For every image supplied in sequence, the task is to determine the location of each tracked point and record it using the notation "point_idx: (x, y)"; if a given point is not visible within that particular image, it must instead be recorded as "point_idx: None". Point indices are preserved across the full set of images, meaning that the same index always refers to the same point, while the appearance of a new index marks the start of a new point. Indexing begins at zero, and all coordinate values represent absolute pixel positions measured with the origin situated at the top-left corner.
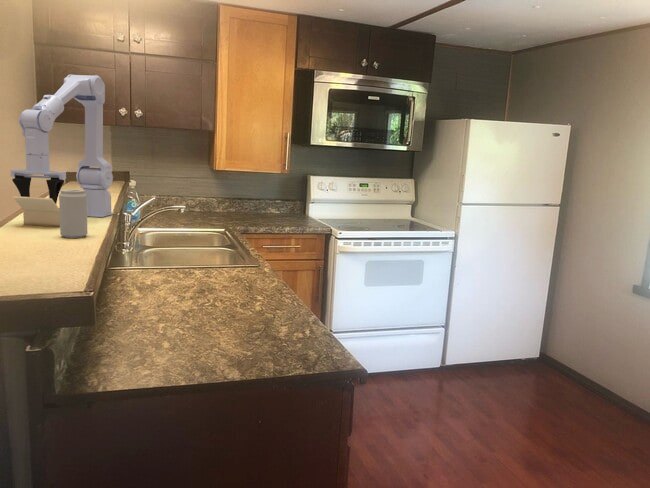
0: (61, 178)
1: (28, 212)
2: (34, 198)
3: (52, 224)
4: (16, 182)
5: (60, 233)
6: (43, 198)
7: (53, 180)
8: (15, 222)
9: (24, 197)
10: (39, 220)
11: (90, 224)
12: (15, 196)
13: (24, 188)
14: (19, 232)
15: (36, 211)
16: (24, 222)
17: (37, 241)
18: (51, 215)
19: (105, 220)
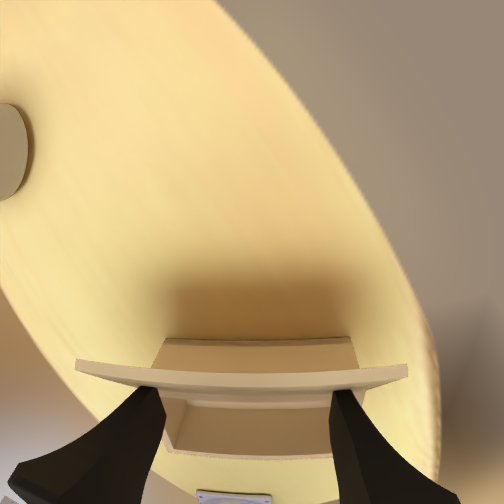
0: (5, 502)
1: None
2: (203, 372)
3: (206, 344)
4: (417, 498)
5: (16, 112)
6: (130, 374)
7: (8, 481)
8: None
9: (303, 378)
10: (271, 355)
11: None
12: (390, 377)
13: (352, 482)
14: (230, 120)
15: None
16: (348, 343)
17: (53, 3)
18: None
19: (156, 464)
